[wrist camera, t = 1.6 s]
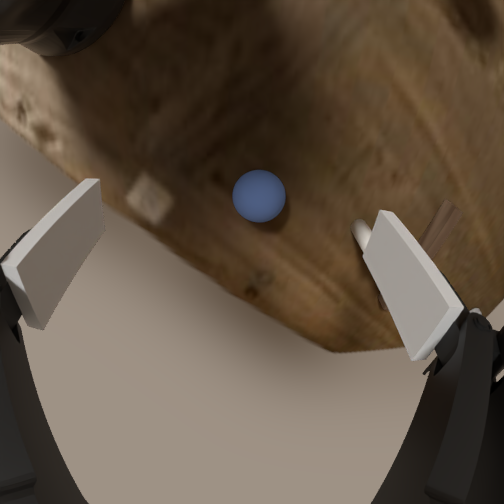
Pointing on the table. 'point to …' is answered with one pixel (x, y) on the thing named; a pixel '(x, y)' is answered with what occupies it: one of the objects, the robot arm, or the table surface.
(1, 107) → the table surface
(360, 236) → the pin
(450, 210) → the back wall
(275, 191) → the ball
